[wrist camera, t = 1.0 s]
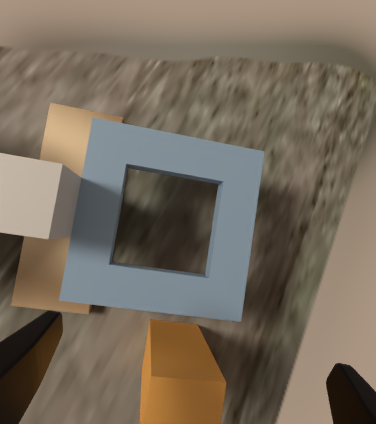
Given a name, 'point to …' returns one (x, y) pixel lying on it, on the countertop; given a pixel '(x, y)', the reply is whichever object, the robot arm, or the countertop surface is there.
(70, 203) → the bracket
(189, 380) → the orange square post
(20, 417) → the robot arm
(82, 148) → the board
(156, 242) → the countertop surface
